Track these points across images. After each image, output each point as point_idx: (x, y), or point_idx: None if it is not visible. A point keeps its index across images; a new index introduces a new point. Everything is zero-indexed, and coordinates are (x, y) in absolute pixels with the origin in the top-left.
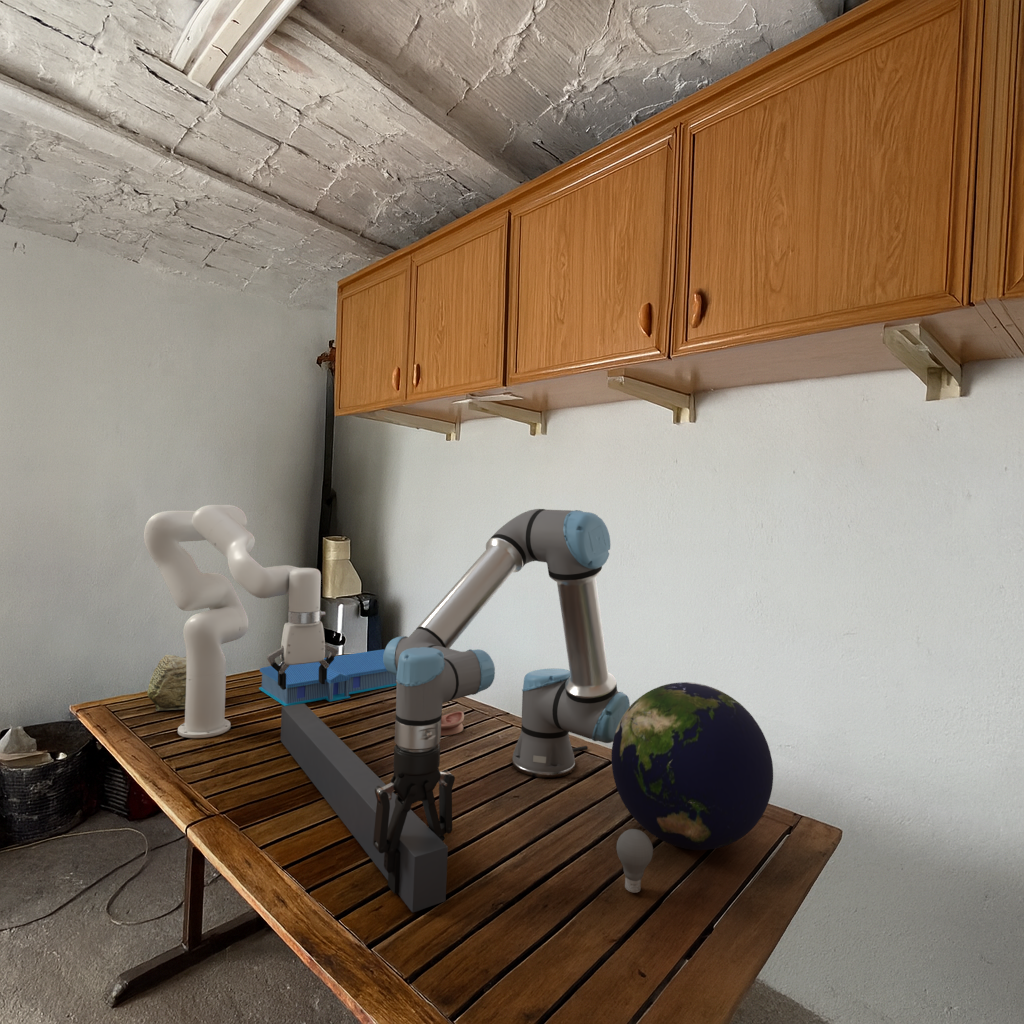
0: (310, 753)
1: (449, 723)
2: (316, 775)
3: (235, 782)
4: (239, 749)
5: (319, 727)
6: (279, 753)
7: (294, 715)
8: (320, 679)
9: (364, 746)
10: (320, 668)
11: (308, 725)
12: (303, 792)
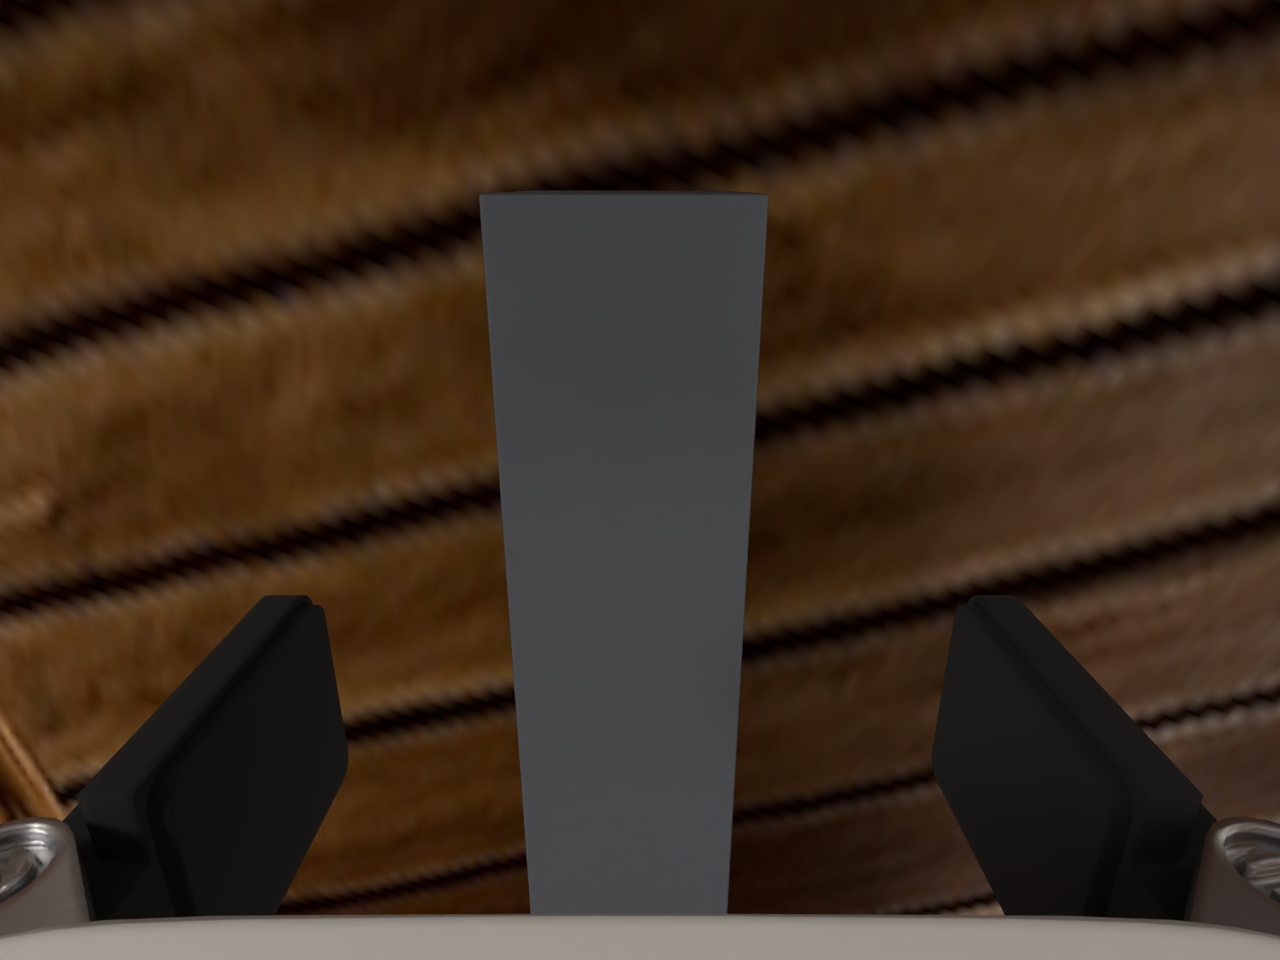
0: None
1: None
2: None
3: None
4: (211, 226)
5: (664, 884)
6: (480, 437)
7: (549, 551)
8: (965, 730)
9: (1016, 573)
10: (1077, 897)
11: (598, 819)
12: None
